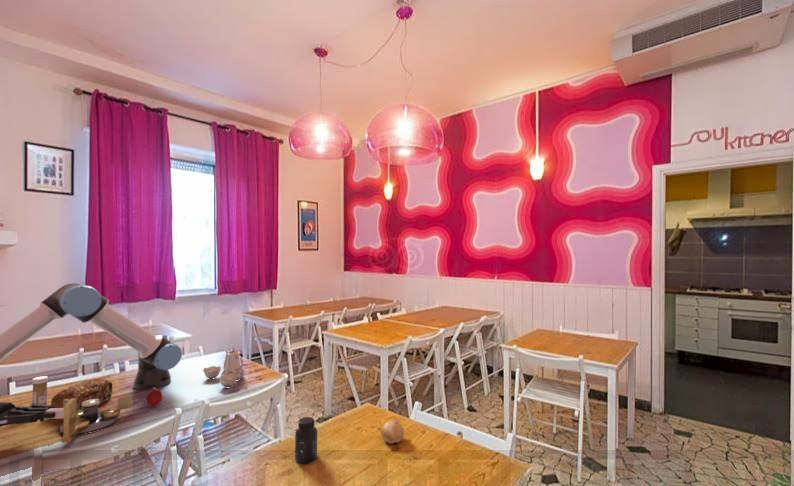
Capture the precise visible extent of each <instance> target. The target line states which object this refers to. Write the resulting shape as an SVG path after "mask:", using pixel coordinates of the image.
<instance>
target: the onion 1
mask: <svg viewBox="0 0 794 486" xmlns="http://www.w3.org/2000/svg"><path fill="white" fill-rule="evenodd" d="M162 400H163V393H162V391H161V390H159V389H157V388H155V387H154V388H153V389H151V390H150V391H149V392H148V393H147V395H146V397H145V402H146V404H147V405H149V406H150V407H152V408H155V407H157V406H158V405H159V404H160V403H161V402H162Z"/></svg>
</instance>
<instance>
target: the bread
mask: <svg viewBox="0 0 794 486" xmlns="http://www.w3.org/2000/svg"><path fill="white" fill-rule="evenodd" d="M112 393H113V383H112V381H111V380H109V379H103V378H94V379H90V380H86V381H81V382H79V383H76V384H74V385H71V386H70V387H68V388H65V389H62V390H61V391H59V392H57V393H56V394H55V395H53V396H52V398H51V401H50V402H51V403H50V405H54V408H63V400H64V399H71V398H76V411H79V410H83V407H82V402H84V401H86V400H90V399H100V403H99V404H98V406H101V404H103V403H104V402H106V401H109V400H111V398H112Z"/></svg>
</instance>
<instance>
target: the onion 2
mask: <svg viewBox="0 0 794 486" xmlns="http://www.w3.org/2000/svg"><path fill="white" fill-rule="evenodd" d="M380 434H381V438H382V439H383V440H384V442H386V443H387V444H390V445H394V443H397V444H398V443H400V442H401V441H402V440H403V438H404V436H405V428H404V427H403V424H401V423H400V422H399V420H398V419H396V418H394V420H393V421H392V420H391V421H387V422H385V423H384V424H383V425H382V427H381V430H380Z"/></svg>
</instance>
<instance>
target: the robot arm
mask: <svg viewBox="0 0 794 486" xmlns="http://www.w3.org/2000/svg"><path fill="white" fill-rule="evenodd" d="M109 303H110V302H109V299H108V298H106V297H105V296H103V294H100V292H99V291H98V289H96V288H94V287H93V286H91V285H87V284H82V283H67V284H64V285H63V286H61V287H59V288H58V289H56V290H55V291H54V292H53V293H51V294H50V295H49V296H47V297H46V298H45V299H43V300H42V301H41V302H40V303H39V307H37V308H35V309H34V310H33V311H32V312H30V313H29V314H27V315H25V317H23V318H22V319H20V320H19V321H18V322H16V323H14V324H13V325H11V326H10V327H9V328H8V329H6V330H5V331H4V332H2V333H1V334H0V362H1V361H3V360H4V359H5V358H7V357H8V356H9V355H11V354H12V353H13V352H15V351H16V350H18V349H19V348H20V347H21V346H23V345H24V344H25V343H27V342H29V340H31V339H32V338H34V337H36V335H37V334H39V333H40V332H41V331H43V330H44V329H45V328H47V327H49V325H51V324H52V323H54V322H55V321H56V320H62V319H63V318H65V316H67V315H70V316H72V317H73V318H75V319H77V320H78V321H80V322H81V323H83V324H87V323H92V324H93V325H95V326H96V327H98V328H99V329H101V330H103V331H104V332H106V333H107V334H109V335H111V336H112V337H114V338H116V339H117V340H119V341H120V342H121V343H123V344H125V345H127V346H129V348H131V349H133V350H135V351H137V353H138V356H137V360H138V361H137V367H138V368H137V372H136V374H135V377H134V380H133V384H132V385H133V387H132V388H133V389H135V390H143V391H144V390H153V388H154V387H155V388H156V389H157V388H160V387H164V386H166V385H169V384H170V383H171V381H172V379H171V378H172V376H171V373H170V371H169V370H172V369H174V368H175V367H176V366H177V365H178V364H179V363H180V361H181V359H182V355H183V350H182V349H181V347H180V346H179V345H178V344H177V343H173V342H171V341H170V340H168V336H167V335H166V334H158V335H154V334H152V333H151V332H150V331H149V330H147V329H145V328H144V327H142V326H140V325H139V324H137V323H136V322H134V320H132V319H130V318H129V317H127V316H126V315H124V314H123V313H121V312H120V311H118V310H117V309H115V308H114V307H112V305H109ZM46 419H47V420H50V419H55V420H56V419H64V408H54V405H51V404H47V405H43V404H36V403H32V402H31V403H30V404H29V405H28V406H23V405H18V406H16V405H15V404H14V403H13V402H8V401H5V402H1V401H0V428H1V427H4V426H11V425H20V424H29V423H30V424H31V423H37V422H38V421H39V422H40V423H43V422H45V420H46Z"/></svg>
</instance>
